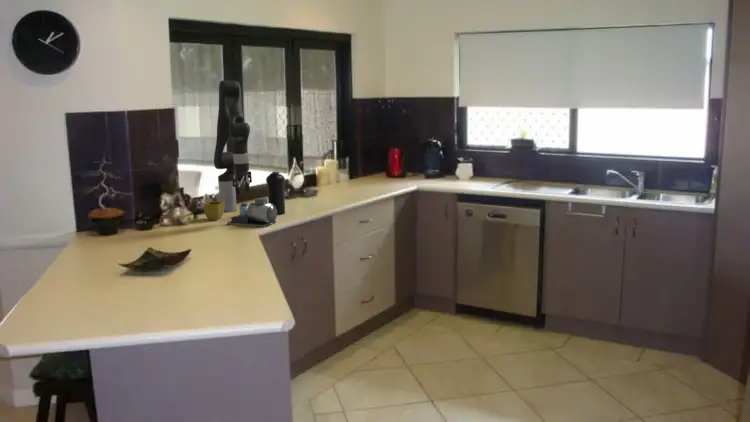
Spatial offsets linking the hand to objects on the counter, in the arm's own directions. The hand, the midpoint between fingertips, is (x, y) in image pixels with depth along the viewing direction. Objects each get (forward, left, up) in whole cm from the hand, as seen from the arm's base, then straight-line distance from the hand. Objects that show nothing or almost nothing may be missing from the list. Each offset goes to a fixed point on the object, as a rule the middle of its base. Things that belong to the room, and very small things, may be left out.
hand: (242, 193), depth 362 cm
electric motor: (+5, 0, -16) cm, 17 cm away
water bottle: (+4, +26, -16) cm, 31 cm away
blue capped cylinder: (0, 0, -15) cm, 15 cm away
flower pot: (-21, +3, -16) cm, 26 cm away
